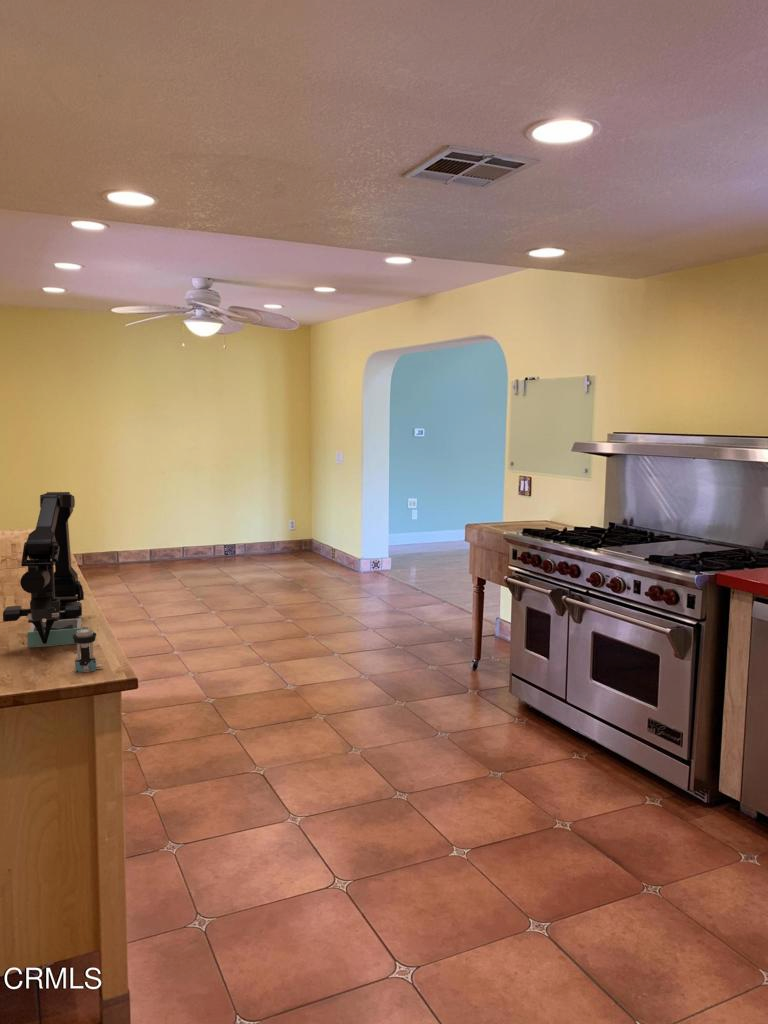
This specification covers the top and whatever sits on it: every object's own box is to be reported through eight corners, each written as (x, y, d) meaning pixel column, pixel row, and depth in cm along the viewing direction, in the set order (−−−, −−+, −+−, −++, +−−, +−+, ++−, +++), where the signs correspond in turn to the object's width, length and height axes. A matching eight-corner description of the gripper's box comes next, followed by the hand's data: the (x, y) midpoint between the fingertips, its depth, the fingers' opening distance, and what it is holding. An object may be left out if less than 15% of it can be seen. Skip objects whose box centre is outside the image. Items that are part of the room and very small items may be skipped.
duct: (32, 632, 218) (32, 616, 217) (89, 627, 223) (89, 612, 222) (27, 648, 202) (27, 632, 202) (88, 643, 208) (88, 627, 207)
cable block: (49, 635, 216) (49, 621, 215) (73, 638, 213) (72, 624, 213) (36, 640, 211) (36, 625, 211) (60, 643, 209) (59, 628, 208)
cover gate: (28, 646, 203) (27, 632, 203) (81, 642, 208) (80, 627, 207) (27, 647, 203) (27, 632, 202) (81, 643, 207) (80, 628, 207)
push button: (102, 665, 190) (101, 626, 189) (104, 672, 185) (102, 632, 184) (73, 668, 188) (72, 629, 186) (74, 675, 183) (72, 635, 181)
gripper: (-1, 594, 189) (1, 655, 191) (80, 589, 195) (82, 648, 197) (4, 585, 199) (6, 643, 201) (81, 580, 206) (83, 637, 208)
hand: (44, 643), depth 201 cm, fingers closed
